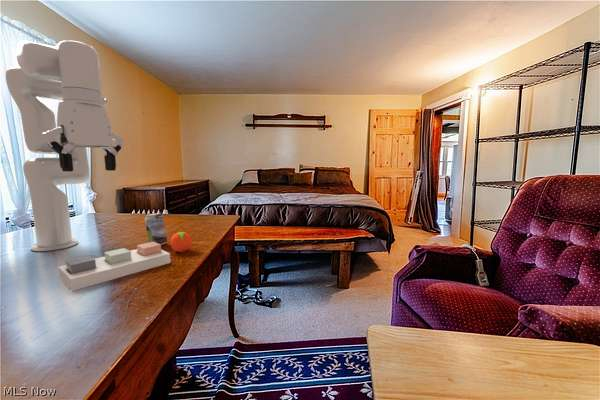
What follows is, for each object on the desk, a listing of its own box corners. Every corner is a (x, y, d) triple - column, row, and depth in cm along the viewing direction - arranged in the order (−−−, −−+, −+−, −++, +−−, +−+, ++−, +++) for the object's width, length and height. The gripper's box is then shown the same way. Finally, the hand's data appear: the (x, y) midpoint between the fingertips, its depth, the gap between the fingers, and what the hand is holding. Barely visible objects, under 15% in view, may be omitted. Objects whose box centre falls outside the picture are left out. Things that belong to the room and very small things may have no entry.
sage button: (105, 262, 78) (104, 252, 77) (124, 257, 82) (124, 247, 81) (111, 266, 75) (110, 256, 74) (131, 261, 79) (130, 251, 78)
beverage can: (159, 248, 97) (157, 215, 96) (142, 246, 99) (139, 214, 97) (171, 243, 104) (169, 212, 102) (154, 241, 105) (152, 211, 103)
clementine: (194, 253, 92) (193, 233, 91) (171, 257, 89) (170, 236, 88) (190, 247, 99) (190, 228, 98) (170, 249, 96) (168, 230, 95)
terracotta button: (137, 254, 84) (136, 245, 84) (154, 250, 88) (153, 241, 88) (144, 258, 81) (143, 248, 81) (161, 253, 85) (160, 244, 85)
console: (59, 277, 73) (58, 266, 72) (152, 254, 91) (152, 245, 91) (72, 291, 65) (70, 279, 65) (170, 262, 84) (170, 253, 84)
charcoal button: (66, 271, 71) (65, 260, 71) (90, 265, 75) (89, 255, 75) (72, 276, 68) (70, 265, 68) (96, 270, 72) (95, 259, 71)
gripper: (110, 107, 75) (116, 170, 77) (28, 92, 59) (38, 171, 61) (128, 105, 72) (134, 170, 74) (47, 88, 56) (57, 172, 58)
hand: (90, 170), depth 68 cm, fingers open, 9 cm apart
